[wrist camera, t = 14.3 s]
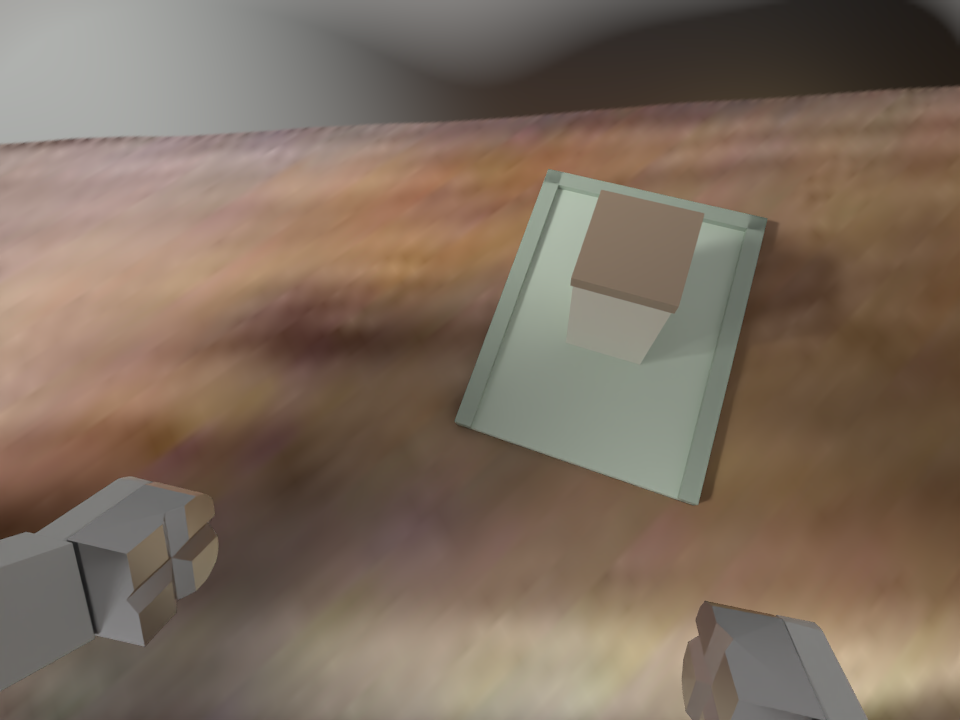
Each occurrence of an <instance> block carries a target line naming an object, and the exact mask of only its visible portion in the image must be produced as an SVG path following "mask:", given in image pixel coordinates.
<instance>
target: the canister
mask: <svg viewBox="0 0 960 720" xmlns="http://www.w3.org/2000/svg"><path fill="white" fill-rule="evenodd" d="M704 214H705V213H701V212H697V211H692V210H688V209H684V208H679V207H675V206H671V205H666V204H662V203H658V202H653V201H649V200H645V199H640V198H636V197H632V196H627V195H623V194H618V193H614V192H610V191H605V190H601V191H600V194H599V197H598V200H597V203H596V206H595V209H594V212H593V215H592V218H591V221H590V224H589V227H588V230H587V233H586V236H585V239H584V242H583V244H582V247H581V250H580V253H579V256H578V259H577V262H576V265H575V268H574V271H573V274H572V277H571V284H570V286H573V289H572V297H571V305H570V313H569V321H568V329H567V337H566V343H568V344H572V345H575V346H578V347H582V348H585V349H588V350H592V351H595V352H599V353H602V354H605V355H609V356H612V357H616V358H619V359H622V360H626V361H629V362H632V363H636V364H639V365H640V364H641V362H642V360H643V359H644V357H645V355H646V354H647V352H648V351H649V349H650V347H651V346H652V344H653V342H654V341H655V339H656V338H657V336H658V334H659V333H660V331H661V329H662V328H663V326H664V324H665V323H666V321H667V320H668V318H669V316H670V315H671V313H673V314H675V312H676V310H677V309H678V307H679V304H680V301H681V297H682V294H683V290H684V286H685V283H686V279H687V276H688V272H689V268H690V265H691V261H692V258H693V254H694V250H695V247H696V243H697V240H698V236H699V232H700V229H701V225H702V222H703V218H704Z"/></svg>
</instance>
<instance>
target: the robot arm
mask: <svg viewBox="0 0 960 720" xmlns="http://www.w3.org/2000/svg"><path fill="white" fill-rule="evenodd" d="M214 515H215V510H214V504H213V498H211V497H210V496H208V495H206V494H204V493H200V492H196V491H192V490H188V489H184V488H180V487H175V486H171V485H167V484H163V483H159V482H152V481H148V480H144V479H140V478H136V477H132V476H129V477H124V478H119V479H117V480H116V481H114V482H113V483H111V484H110V485H108V486H107V487H105V488H103V489H102V490H100V491H99V492H97V493H96V494H94V495H93V496H91V497H90V498H88V499H87V500H85V501H84V502H82V503H81V504H79V505H78V506H76V507H75V508H73V509H72V510H70V511H69V512H67V513H66V514H64V515H62V516H61V517H59V518H58V519H56V520H55V521H53V522H52V523H50V524H49V525H47V526H46V527H44V528H43V529H41V530H40V531H38V532H37V533H35V534H34V533H29V532H24V533H21V534H18V535H14V536H11V537H8V538H5V539H1V540H0V691H2V690H4V689H6V688H7V687H9V686H11V685H13V684H14V683H16V682H18V681H20V680H22V679H23V678H25V677H27V676H29V675H31V674H32V673H34V672H36V671H38V670H40V669H41V668H43V667H45V666H47V665H49V664H50V663H52V662H54V661H56V660H58V659H59V658H61V657H63V656H65V655H66V654H68V653H70V652H72V651H74V650H75V649H77V648H79V647H81V646H83V645H84V644H86V643H88V642H90V641H92V640H93V639H95V635H96V636H100V637H105V638H109V639H113V640H118V641H122V642H126V643H131V644H135V645H139V646H144V647H145V646H146V645H147V644H148V643H149V642H150V640H151V639H152V638H153V637H154V636H155V635H156V634H157V633H158V632H159V631H160V630H161V629H162V628H163V626H164V625H165V624H166V623H167V622H168V621H169V620H170V619H171V618H172V617H173V616H174V615H175V614H176V612H177V602H178V599H181V598H183V597H185V596H187V595H189V594H191V593H194V592H196V591H197V590H198V588H199V587H200V586H201V585H202V584H203V583H204V582H205V581H206V579H207V578H208V577H209V575H210V573H211V571H212V569H213V567H214V565H215V563H216V560H217V554H218V548H219V545H218V535H217V534H216V533H215V531H214V530H213V528H212V527H211V526H210V524H209V522H210V520H211V519H212V518H213V517H214ZM696 624H697V628H698V633H699V636H697V637H696V638H694V639H692V640H691V641H689V642H688V645H687V648H686V652H685V655H684V659H683V670H682V690H683V699H684V705H685V711H686V712H687V714H688V715H689V716H690V718H691V719H692V720H868V718H867V716H866V714H865V713H864V711H863V709H862V707H861V705H860V703H859V701H858V699H857V697H856V695H855V693H854V691H853V689H852V687H851V685H850V683H849V682H848V680H847V678H846V676H845V674H844V672H843V670H842V668H841V666H840V664H839V662H838V660H837V658H836V656H835V654H834V652H833V651H832V649H831V647H830V645H829V643H828V641H827V639H826V637H825V635H824V633H823V631H822V629H821V628H820V627H819V626H818V625H816V624H815V623H814V622H810V621H805V620H800V619H795V618H790V617H785V616H779V615H776V616H774V615H772V614H767V613H762V612H757V611H752V610H748V609H743V608H738V607H733V606H728V605H723V604H718V603H714V602H709V601H704V603H703V604H702V605H701V607H700V609H699V611H698V614H697V617H696Z"/></svg>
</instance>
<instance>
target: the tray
mask: <svg viewBox="0 0 960 720" xmlns="http://www.w3.org/2000/svg"><path fill="white" fill-rule="evenodd" d="M601 190H605V191H610V192H614V193H618V194H623V195H627V196H632V197H636V198H640V199H645V200H649V201H653V202H658V203H662V204H666V205H671V206H675V207H679V208H684V209H688V210H692V211H697V212H701V213H705V214H704V218H703V222H702V225H701V229H700V232H699V236H698V240H697V243H696V247H695V250H694V254H693V258H692V261H691V265H690V268H689V272H688V276H687V279H686V283H685V286H684V290H683V294H682V297H681V301H680V304H679V307H678V309H677V310H676V312H675V314H673V313H671V315H670V316H669V318H668V320H667V321H666V323H665V324H664V326H663V328H662V329H661V331H660V333H659V334H658V336H657V338H656V339H655V341H654V342H653V344H652V346H651V347H650V349H649V351H648V352H647V354H646V355H645V357H644V359H643V360H642V362H641V364H640V365H639V364H636V363H632V362H629V361H626V360H622V359H619V358H616V357H612V356H609V355H605V354H602V353H599V352H595V351H592V350H588V349H585V348H582V347H578V346H575V345H572V344H568V343H566V337H567V329H568V321H569V313H570V305H571V297H572V289H573V286H570V284H571V277H572V274H573V271H574V268H575V265H576V262H577V259H578V256H579V253H580V250H581V247H582V244H583V242H584V239H585V236H586V233H587V230H588V227H589V224H590V221H591V218H592V215H593V212H594V209H595V206H596V203H597V200H598V197H599V194H600V191H601ZM766 223H767V218H763V217H759V216H754V215H750V214H745V213H741V212H737V211H732V210H728V209H723V208H719V207H714V206H710V205H706V204H701V203H697V202H692V201H688V200H684V199H679V198H675V197H670V196H666V195H661V194H657V193H653V192H648V191H644V190H639V189H635V188H631V187H626V186H622V185H617V184H613V183H608V182H604V181H600V180H595V179H591V178H586V177H582V176H577V175H573V174H569V173H564V172H560V171H555V170H551V169H548V172H547V174H546V177H545V180H544V182H543V185H542V188H541V190H540V193H539V196H538V198H537V201H536V204H535V206H534V209H533V212H532V214H531V217H530V220H529V222H528V225H527V228H526V231H525V233H524V236H523V239H522V241H521V244H520V247H519V249H518V252H517V255H516V257H515V260H514V263H513V265H512V268H511V271H510V273H509V276H508V279H507V281H506V284H505V287H504V290H503V292H502V295H501V298H500V300H499V303H498V306H497V308H496V311H495V314H494V316H493V319H492V322H491V324H490V327H489V330H488V332H487V335H486V338H485V340H484V343H483V346H482V349H481V351H480V354H479V357H478V359H477V362H476V365H475V367H474V370H473V373H472V375H471V378H470V381H469V383H468V386H467V389H466V391H465V394H464V397H463V399H462V402H461V405H460V408H459V410H458V413H457V416H456V418H455V423H456V424H458V425H461V426H464V427H466V428H469V429H472V430H475V431H478V432H481V433H484V434H487V435H490V436H493V437H496V438H498V439H501V440H504V441H507V442H510V443H513V444H516V445H519V446H522V447H525V448H527V449H530V450H533V451H536V452H539V453H542V454H545V455H548V456H551V457H554V458H557V459H559V460H562V461H565V462H568V463H571V464H574V465H577V466H580V467H583V468H586V469H589V470H591V471H594V472H597V473H600V474H603V475H606V476H609V477H612V478H615V479H618V480H621V481H623V482H626V483H629V484H632V485H635V486H638V487H641V488H644V489H647V490H650V491H653V492H655V493H658V494H661V495H664V496H667V497H670V498H673V499H676V500H679V501H682V502H685V503H687V504H690V505H698V503H699V499H700V495H701V491H702V486H703V482H704V478H705V474H706V470H707V466H708V462H709V458H710V453H711V449H712V445H713V441H714V437H715V433H716V429H717V425H718V421H719V416H720V412H721V408H722V404H723V400H724V396H725V392H726V388H727V383H728V379H729V375H730V371H731V367H732V363H733V359H734V355H735V350H736V346H737V342H738V338H739V334H740V330H741V326H742V322H743V318H744V313H745V309H746V305H747V301H748V297H749V293H750V289H751V285H752V280H753V276H754V272H755V268H756V264H757V260H758V256H759V252H760V247H761V243H762V239H763V235H764V231H765V227H766Z"/></svg>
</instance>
